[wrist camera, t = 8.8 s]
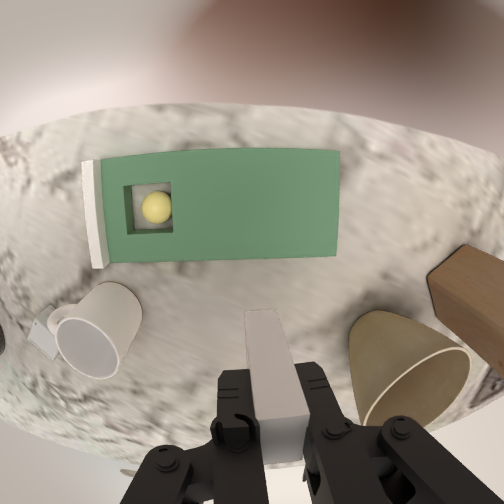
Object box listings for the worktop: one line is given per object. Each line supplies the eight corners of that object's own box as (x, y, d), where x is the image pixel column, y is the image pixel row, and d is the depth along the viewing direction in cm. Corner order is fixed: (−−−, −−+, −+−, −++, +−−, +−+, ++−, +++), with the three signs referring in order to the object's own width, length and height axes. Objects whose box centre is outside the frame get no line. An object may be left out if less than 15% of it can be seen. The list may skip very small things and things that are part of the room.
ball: (157, 220, 32) (136, 225, 29) (155, 190, 31) (133, 193, 28) (180, 221, 31) (159, 227, 28) (179, 189, 30) (157, 192, 27)
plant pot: (316, 306, 36) (362, 386, 21) (409, 273, 36) (481, 324, 21) (330, 382, 41) (362, 458, 26) (409, 350, 41) (458, 409, 25)
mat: (107, 256, 33) (92, 268, 28) (99, 161, 29) (81, 161, 25) (329, 250, 34) (342, 261, 30) (332, 152, 31) (346, 150, 27)
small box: (41, 324, 35) (26, 339, 30) (50, 302, 34) (34, 317, 29) (66, 346, 36) (52, 363, 32) (77, 326, 35) (63, 343, 31)
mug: (72, 321, 35) (39, 360, 25) (67, 270, 33) (25, 302, 23) (144, 338, 36) (122, 386, 26) (144, 285, 34) (116, 326, 24)
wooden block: (435, 319, 39) (508, 387, 20) (423, 275, 37) (516, 340, 17) (472, 286, 38) (548, 338, 19) (464, 240, 36) (557, 285, 16)
